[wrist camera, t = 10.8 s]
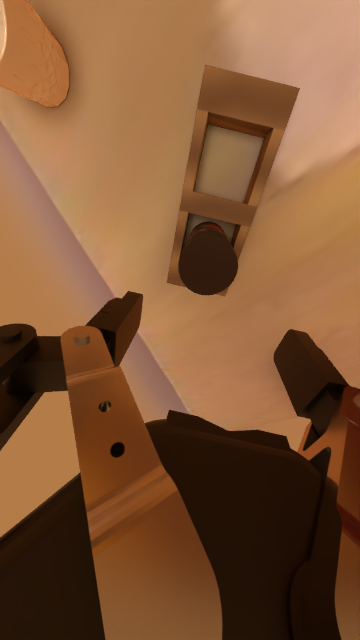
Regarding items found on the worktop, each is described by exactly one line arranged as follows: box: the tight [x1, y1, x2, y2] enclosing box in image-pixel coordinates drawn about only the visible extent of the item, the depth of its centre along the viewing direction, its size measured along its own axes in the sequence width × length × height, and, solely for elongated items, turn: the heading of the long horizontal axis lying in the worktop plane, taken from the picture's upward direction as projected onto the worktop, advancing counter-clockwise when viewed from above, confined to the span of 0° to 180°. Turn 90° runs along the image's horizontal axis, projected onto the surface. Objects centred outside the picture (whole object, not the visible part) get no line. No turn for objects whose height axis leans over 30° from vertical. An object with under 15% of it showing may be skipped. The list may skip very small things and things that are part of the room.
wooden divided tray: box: [167, 65, 300, 296], centre depth 28 cm, size 24×10×4 cm, turn 168°
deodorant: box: [178, 222, 238, 295], centre depth 26 cm, size 6×6×15 cm
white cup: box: [0, 0, 70, 107], centre depth 20 cm, size 8×8×10 cm
